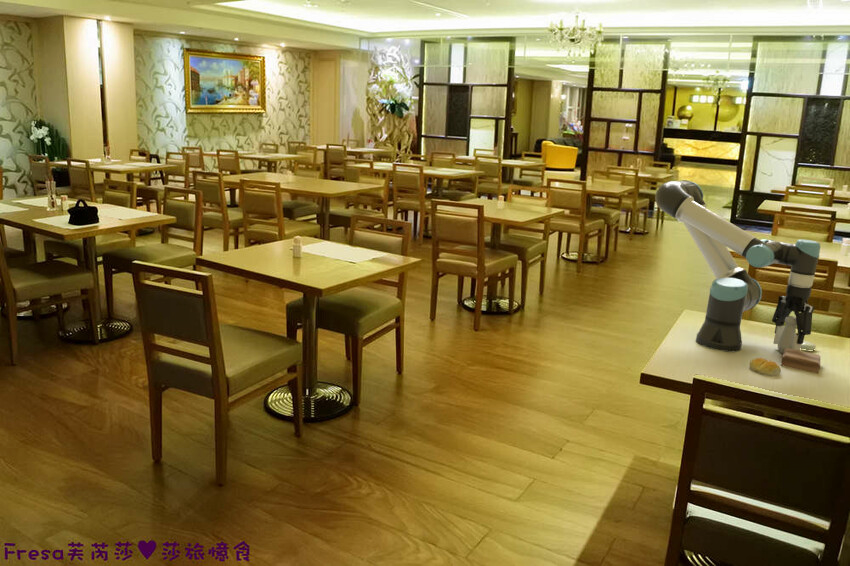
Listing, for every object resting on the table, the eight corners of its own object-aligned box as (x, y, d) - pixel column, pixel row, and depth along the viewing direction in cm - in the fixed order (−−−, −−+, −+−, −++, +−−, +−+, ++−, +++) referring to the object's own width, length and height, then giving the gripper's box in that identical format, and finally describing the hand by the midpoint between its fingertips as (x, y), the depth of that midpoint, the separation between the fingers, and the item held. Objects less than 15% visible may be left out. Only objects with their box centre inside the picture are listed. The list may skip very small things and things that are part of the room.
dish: (803, 352, 250) (804, 346, 249) (788, 345, 256) (789, 340, 256) (819, 351, 252) (820, 346, 251) (803, 345, 258) (805, 340, 258)
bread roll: (758, 365, 231) (761, 354, 230) (783, 375, 224) (786, 363, 223) (742, 368, 227) (745, 356, 226) (767, 378, 220) (770, 366, 219)
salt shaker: (795, 352, 248) (802, 317, 245) (793, 356, 243) (801, 320, 240) (777, 348, 251) (784, 313, 248) (775, 352, 246) (782, 316, 243)
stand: (818, 373, 227) (820, 363, 226) (780, 365, 232) (783, 355, 231) (818, 364, 236) (820, 354, 236) (782, 356, 241) (784, 347, 241)
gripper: (833, 293, 232) (818, 357, 238) (786, 277, 252) (773, 337, 257) (814, 293, 230) (800, 358, 236) (768, 277, 250) (756, 338, 255)
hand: (786, 347), depth 246 cm, fingers open, 8 cm apart
